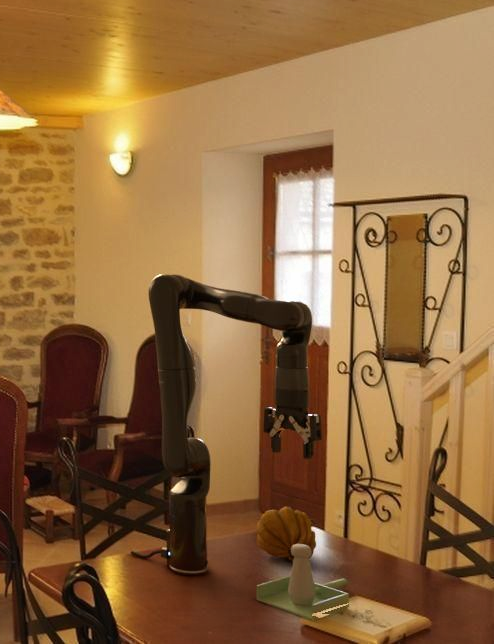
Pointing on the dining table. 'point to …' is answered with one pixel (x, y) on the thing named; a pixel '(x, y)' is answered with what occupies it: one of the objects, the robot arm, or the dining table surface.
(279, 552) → the pumpkin
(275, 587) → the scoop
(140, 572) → the dining table surface
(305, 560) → the salt shaker
